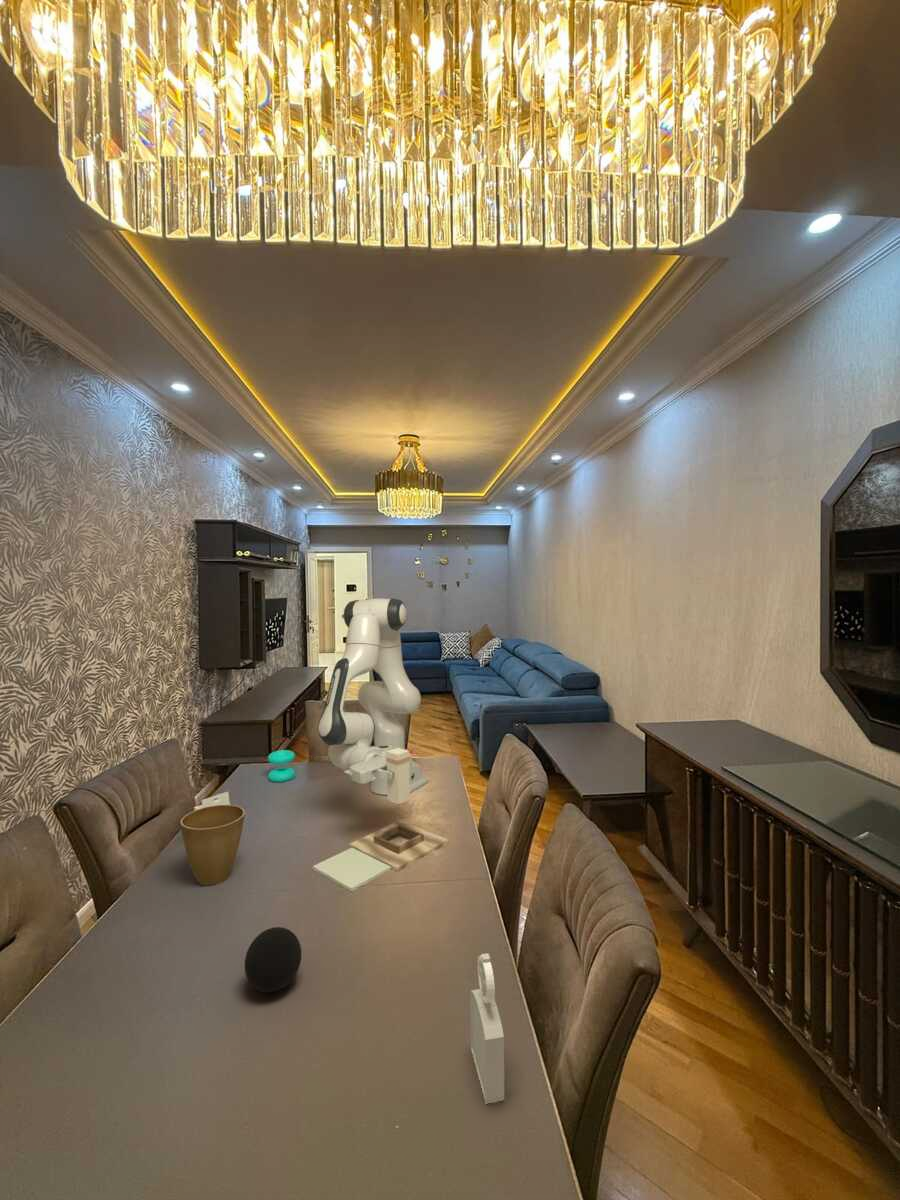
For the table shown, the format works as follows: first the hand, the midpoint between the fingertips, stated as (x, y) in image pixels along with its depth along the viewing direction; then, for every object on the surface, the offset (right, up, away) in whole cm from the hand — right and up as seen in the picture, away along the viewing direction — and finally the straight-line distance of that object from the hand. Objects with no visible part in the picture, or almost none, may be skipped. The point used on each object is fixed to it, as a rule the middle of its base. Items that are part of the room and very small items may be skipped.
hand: (400, 772), depth 150 cm
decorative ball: (-19, -23, -52) cm, 60 cm away
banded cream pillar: (-1, -8, +1) cm, 8 cm away
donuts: (-51, -21, +55) cm, 78 cm away
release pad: (-12, -21, -12) cm, 27 cm away
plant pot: (-46, -22, -15) cm, 53 cm away
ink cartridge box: (-55, -22, +3) cm, 59 cm away
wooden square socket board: (-1, -21, +1) cm, 21 cm away
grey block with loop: (+20, -23, -70) cm, 77 cm away
